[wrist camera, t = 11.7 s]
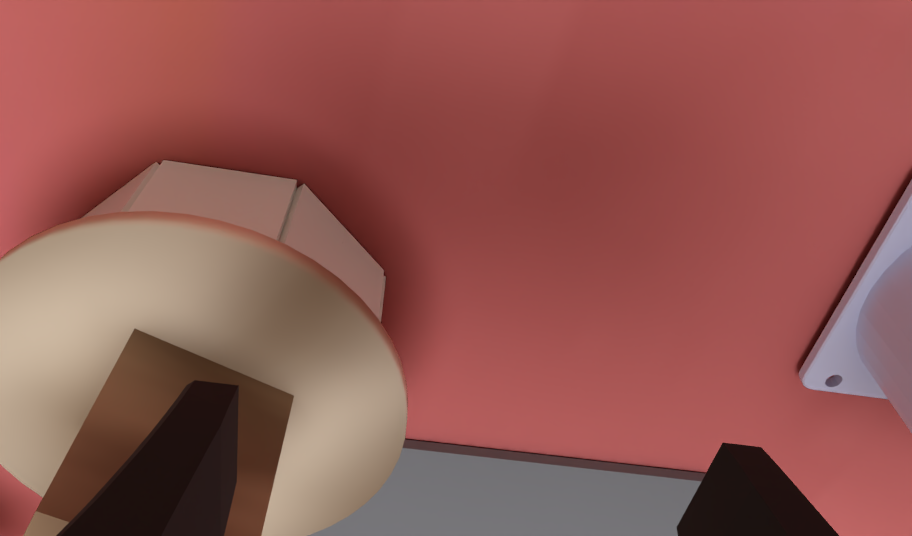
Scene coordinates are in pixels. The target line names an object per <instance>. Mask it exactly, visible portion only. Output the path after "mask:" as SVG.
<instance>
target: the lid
mask: <svg viewBox="0 0 912 536" xmlns="http://www.w3.org/2000/svg"><path fill="white" fill-rule="evenodd" d="M194 380H198V381H206V382H214V383H223V384H231V385H239V399H238V450H237V483H236V487H235V491H234V496H233V500H232V504H231V509H230V513H229V517H228V521H227V526H226V530H225V534H224V536H308V535H311V534H313V533H315V532H318V531H320V530H323V529H325V528H328V527H330V526H332V525H334V524H335V523H337V522H339V521H341V520H343V519H344V518H346V517H348V516H349V515H351V514H352V513H354V512H355V511H356V510H358V509H359V508H360V507H362V506H363V505H364V504H366V503H367V502H368V501H369V500H370V499H371V498H372V497H373V496H374V495H375V494H376V493H377V492H378V491H379V490H380V488H381V487H382V486H383V484H384V483H385V482H386V480H387V479H388V478H389V476H390V475H391V473H392V471H393V469H394V467H395V465H396V463H397V461H398V459H399V457H400V454H401V450H402V447H403V444H404V440H405V433H406V424H407V410H408V397H407V384H406V379H405V375H404V371H403V367H402V363H401V360H400V358H399V355H398V353H397V351H396V349H395V346H394V344H393V342H392V340H391V338H390V336H389V335H388V333H387V332H386V330H385V328H384V327H383V325H382V324H381V322H380V321H379V319H378V318H377V316H376V315H375V314H374V313H373V312H372V311H371V309H370V308H369V307H368V306H367V305H366V303H365V302H364V301H363V300H362V299H361V298H360V297H359V296H358V295H357V294H356V293H355V292H354V291H353V290H352V289H351V288H349V287H348V286H347V285H346V284H345V283H344V282H343V281H342V280H341V279H340V278H338V277H337V276H336V275H334V274H333V273H331V272H330V271H329V270H327V269H326V268H324V267H323V266H322V265H320V264H319V263H317V262H316V261H315V260H313V259H311V258H309V257H308V256H306V255H304V254H302V253H301V252H299V251H297V250H295V249H293V248H292V247H290V246H288V245H286V244H284V243H282V242H279V241H277V240H275V239H272V238H270V237H268V236H265V235H263V234H261V233H258V232H256V231H253V230H250V229H247V228H244V227H240V226H237V225H234V224H231V223H227V222H224V221H220V220H215V219H210V218H205V217H200V216H195V215H190V214H181V213H170V212H158V211H135V212H115V213H108V214H101V215H94V216H88V217H84V218H80V219H77V220H73V221H70V222H66V223H62V224H59V225H56V226H54V227H52V228H49V229H47V230H45V231H43V232H40V233H38V234H36V235H33V236H31V237H30V238H28V239H27V240H25V241H24V242H22V243H20V244H19V245H17V246H16V247H14V248H13V249H11V250H10V251H8V252H7V253H6V254H5V255H4V256H3V257H2V258H1V259H0V464H1V465H2V466H3V467H4V468H5V469H6V470H7V471H9V472H10V473H11V474H12V475H13V476H14V477H16V478H17V479H18V480H19V481H20V482H21V483H23V484H24V485H26V486H27V487H28V488H30V489H31V490H33V491H34V492H36V493H37V494H38V495H40V496H41V497H43V499H42V501H41V502H40V504H39V506H38V508H37V510H36V512H35V514H34V516H33V518H32V520H31V522H30V524H29V526H28V528H27V530H26V532H25V534H24V536H56V535H57V534H58V533H59V532H60V531H61V530H62V529H63V528H64V527H65V526H66V525H67V524H68V523H69V522H70V521H71V520H72V519H73V518H74V517H75V516H76V515H77V514H78V513H79V512H80V511H81V510H82V509H83V508H84V507H85V506H86V505H87V504H88V503H89V502H90V501H91V499H92V498H93V497H94V496H95V495H96V494H97V493H98V492H99V491H100V490H101V488H102V487H103V486H104V485H105V484H106V483H107V482H108V481H109V479H110V478H111V477H112V476H113V475H114V474H115V473H116V472H117V471H118V469H119V468H120V467H121V466H122V465H123V464H124V463H125V462H126V461H127V459H128V458H129V457H130V456H131V455H132V454H133V452H134V451H135V450H136V449H137V448H138V447H139V445H140V444H141V443H142V442H143V441H144V439H145V438H146V437H147V436H148V435H149V433H150V432H151V431H152V430H153V428H154V427H155V426H156V425H157V424H158V422H159V421H160V420H161V419H162V417H163V416H164V415H165V413H166V412H167V411H168V410H169V408H170V407H171V406H172V404H173V403H174V402H175V400H176V399H177V398H178V396H179V395H180V394H181V392H182V391H183V389H184V388H185V387H186V385H188V384H189V383H191V382H193V381H194Z"/></svg>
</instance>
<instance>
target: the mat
mask: <svg viewBox="0 0 912 536" xmlns="http://www.w3.org/2000/svg"><path fill="white" fill-rule="evenodd" d="M705 474H706V473H697V472H688V471H680V470H671V469H662V468H653V467H644V466H636V465H627V464H618V463H609V462H600V461H592V460H583V459H574V458H565V457H556V456H547V455H539V454H530V453H521V452H512V451H503V450H495V449H486V448H477V447H468V446H459V445H450V444H442V443H433V442H424V441H415V440H406V439H405V440H404V444H403V447H402V450H401V454H400V457H399V459H398V461H397V463H396V465H395V467H394V469H393V471H392V473H391V475H390V476H389V478H388V479H387V480H386V482H385V483H384V484H383V486H382V487H381V488H380V490H379V491H378V492H377V493H376V494H375V495H374V496H373V497H372V498H371V499H370V500H369V501H368V502H367V503H366V504H364V505H363V506H362V507H360V508H359V509H358V510H356V511H355V512H354V513H352V514H351V515H349V516H348V517H346V518H344V519H343V520H341V521H339V522H337V523H335V524H334V525H332V526H330V527H328V528H325V529H323V530H320V531H318V532H315V533H313V534H311V535H308V536H678V533H677V525H678V524H679V522H680V520H681V518H682V516H683V514H684V513H685V511H686V509H687V507H688V505H689V504H690V502H691V500H692V498H693V496H694V494H695V493H696V491H697V489H698V487H699V485H700V484H701V482H702V480H703V478H704V476H705Z"/></svg>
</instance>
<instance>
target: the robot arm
mask: <svg viewBox="0 0 912 536" xmlns="http://www.w3.org/2000/svg"><path fill="white" fill-rule="evenodd" d="M833 375H834V376H833ZM830 376H833V377H831V378H828V377H830ZM799 378H800V380H801V382H802V383H803V385H804V386H805V387H806V388H808V389H812V390H820V391H827V392H835V393H843V394H851V395H858V396H866V397H874V398H882V399H888V400H889V401H890V403H891V404H892V406H893V407H894V408H895V410H896V411H897V413H898V414H899V416H900V417H901V419H902V420H903V421H904V423H905V424H906V426H907V427H908V429H909V430H910V432H911V433H912V180H911V181H910V183H909V185H908V187H907V188H906V190H905V192H904V193H903V195H902V197H901V199H900V200H899V202H898V204H897V205H896V207H895V209H894V210H893V212H892V214H891V216H890V217H889V219H888V221H887V222H886V224H885V226H884V228H883V229H882V231H881V233H880V234H879V236H878V238H877V239H876V241H875V243H874V245H873V246H872V248H871V250H870V251H869V253H868V255H867V257H866V258H865V260H864V262H863V263H862V265H861V267H860V268H859V270H858V272H857V274H856V275H855V277H854V279H853V280H852V282H851V284H850V286H849V287H848V289H847V291H846V292H845V294H844V296H843V297H842V299H841V301H840V303H839V304H838V306H837V308H836V309H835V311H834V313H833V314H832V316H831V318H830V320H829V321H828V323H827V325H826V326H825V328H824V330H823V332H822V333H821V335H820V337H819V338H818V340H817V342H816V343H815V345H814V347H813V349H812V350H811V352H810V354H809V355H808V357H807V359H806V361H805V362H804V364H803V366H802V367H801V369H800V372H799ZM238 399H239V385H231V384H223V383H214V382H206V381H198V380H194V381H193V382H191V383H189V384H188V385H186V387H185V388H184V389H183V391H182V392H181V394H180V395H179V396H178V398H177V399H176V400H175V402H174V403H173V404H172V406H171V407H170V408H169V410H168V411H167V412H166V413H165V415H164V416H163V417H162V419H161V420H160V421H159V422H158V424H157V425H156V426H155V427H154V428H153V430H152V431H151V432H150V433H149V435H148V436H147V437H146V438H145V439H144V441H143V442H142V443H141V444H140V445H139V447H138V448H137V449H136V450H135V451H134V452H133V454H132V455H131V456H130V457H129V458H128V459H127V461H126V462H125V463H124V464H123V465H122V466H121V467H120V468H119V469H118V471H117V472H116V473H115V474H114V475H113V476H112V477H111V478H110V479H109V481H108V482H107V483H106V484H105V485H104V486H103V487H102V488H101V490H100V491H99V492H98V493H97V494H96V495H95V496H94V497H93V498H92V499H91V501H90V502H89V503H88V504H87V505H86V506H85V507H84V508H83V509H82V510H81V511H80V512H79V513H78V514H77V515H76V516H75V517H74V518H73V519H72V520H71V521H70V522H69V523H68V524H67V525H66V526H65V527H64V528H63V529H62V530H61V531H60V532H59V533H58V534H57V535H56V536H224V534H225V530H226V526H227V521H228V517H229V513H230V509H231V504H232V500H233V496H234V491H235V487H236V483H237V450H238ZM677 533H678V536H839V535H838V534H837V533H836V532H835V530H834V529H833V528H832V527H831V526H830V525H829V524H828V522H827V521H826V520H825V519H824V518H823V517H822V516H821V514H820V513H819V512H818V511H817V510H816V509H815V507H814V506H813V505H812V504H811V503H810V502H809V501H808V499H807V498H806V497H805V496H804V495H803V494H802V493H801V491H800V490H799V489H798V488H797V487H796V486H795V485H794V483H793V482H792V481H791V480H790V479H789V478H788V477H787V475H786V474H785V473H784V472H783V471H782V470H781V469H780V467H779V466H778V465H777V464H776V463H775V462H774V461H773V460H772V459H771V458H770V456H769V455H768V454H767V453H766V452H765V451H764V450H763V449H762V448H761V447H754V446H746V445H737V444H729V443H722V445H721V447H720V449H719V451H718V453H717V454H716V456H715V458H714V460H713V462H712V463H711V465H710V467H709V469H708V471H707V473H706V474H705V476H704V478H703V480H702V482H701V484H700V485H699V487H698V489H697V491H696V493H695V494H694V496H693V498H692V500H691V502H690V504H689V505H688V507H687V509H686V511H685V513H684V514H683V516H682V518H681V520H680V522H679V524H678V525H677Z"/></svg>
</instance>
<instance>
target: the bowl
mask: <svg viewBox="0 0 912 536" xmlns="http://www.w3.org/2000/svg"><path fill="white" fill-rule="evenodd" d="M135 211H158V212H170V213H181V214H190V215H195V216H200V217H205V218H210V219H215V220H220V221H224V222H227V223H231V224H234V225H237V226H240V227H244V228H247V229H250V230H253V231H256V232H258V233H261V234H263V235H265V236H268V237H270V238H272V239H275V240H277V241H279V242H282V243H284V244H286V245H288V246H290V247H292V248H293V249H295V250H297V251H299V252H301V253H302V254H304V255H306V256H308V257H309V258H311V259H313V260H315V261H316V262H317V263H319V264H320V265H322V266H323V267H324V268H326V269H327V270H329V271H330V272H331V273H333V274H334V275H336V276H337V277H338V278H340V279H341V280H342V281H343V282H344V283H345V284H346V285H347V286H348V287H349V288H351V289H352V290H353V291H354V292H355V293H356V294H357V295H358V296H359V297H360V298H361V299H362V300H363V301H364V302H365V303H366V305H367V306H368V307H369V308H370V309H371V311H372V312H373V313H374V314H375V315H376V316H377V318H378V319H379V321H380V322H381V317H382V308H383V299H384V290H385V281H386V276H384V270H383V269H382V268H381V266H380V265H379V264H378V263H377V262H376V261H375V260H374V259H373V258H372V257H371V256H370V255H369V253H368V252H367V251H366V250H365V249H364V248H363V247H362V246H361V245H360V244H359V243H358V242H357V240H356V239H355V238H354V237H353V236H352V235H351V234H350V233H349V232H348V231H347V230H346V228H345V227H344V226H343V225H342V224H341V223H340V222H339V221H338V220H337V219H336V218H335V217H334V215H333V214H332V213H331V212H330V211H329V210H328V209H327V208H326V207H325V206H324V205H323V203H322V202H321V201H320V200H319V199H318V198H317V197H316V196H315V195H314V194H313V193H312V192H311V190H310V189H309V188H308V187H307V186H306V185H305V184H303V185H301V186H300V187H298V188H297V180H295V179H288V178H281V177H274V176H268V175H261V174H254V173H248V172H241V171H234V170H228V169H221V168H214V167H208V166H201V165H194V164H188V163H181V162H174V161H168V160H163V161H162V163H161V164H160V165H159V164H158V163H157V162H155V163H153V164H152V165H151V166H150V167H148V168H147V169H146V170H144V171H143V172H142V173H140V174H139V175H138V176H136V177H135V178H134V179H132V180H131V181H130V182H128V183H127V184H126V185H124V186H123V187H122V188H120V189H119V190H118V191H116V192H115V193H114V194H112V195H111V196H110V197H108V198H107V199H106V200H104V201H103V202H102V203H100V204H99V205H98V206H96V207H95V208H94V209H92V210H91V211H90V212H88V213H87V214H86V215H84V216H83V217H82V218H84V217H88V216H94V215H101V214H108V213H115V212H135Z"/></svg>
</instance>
